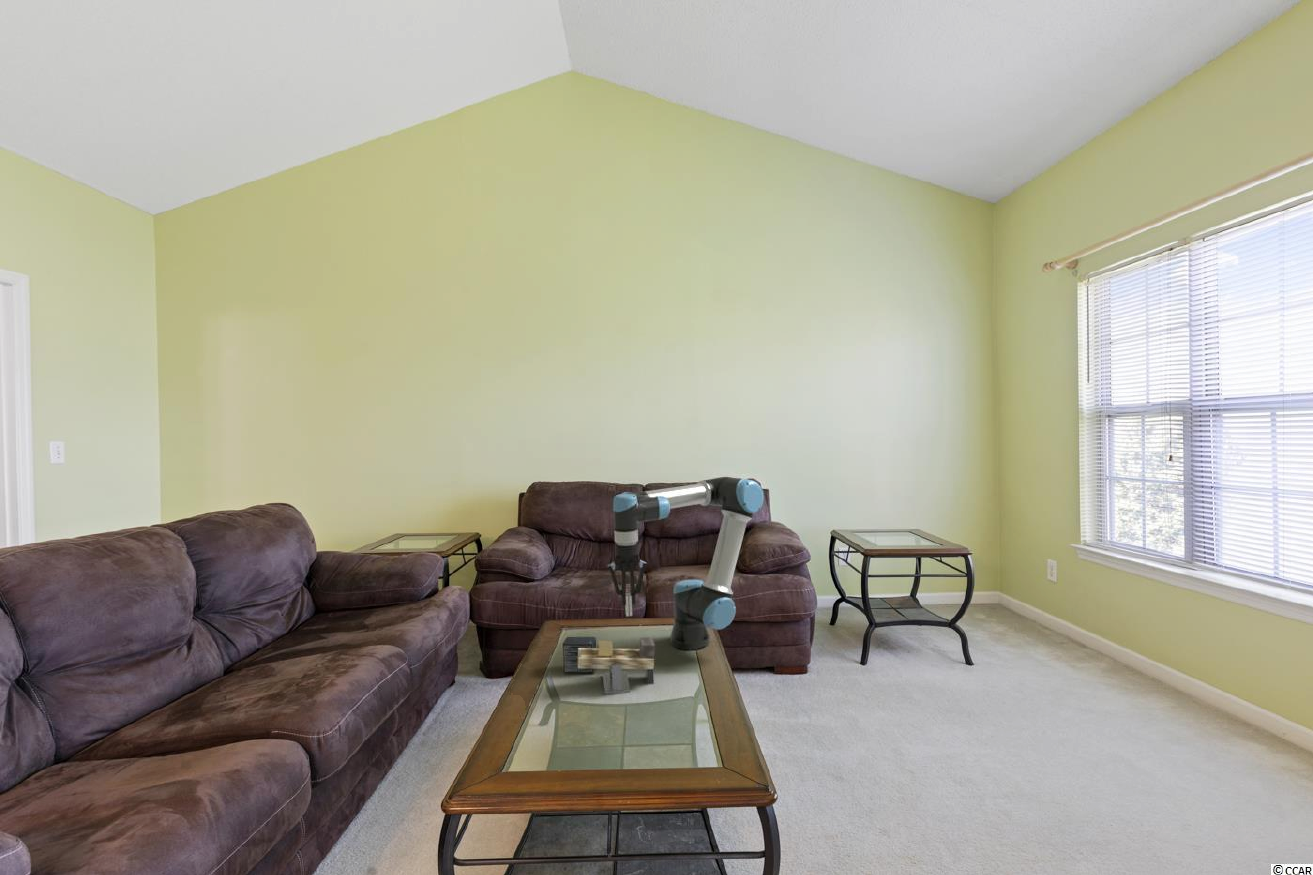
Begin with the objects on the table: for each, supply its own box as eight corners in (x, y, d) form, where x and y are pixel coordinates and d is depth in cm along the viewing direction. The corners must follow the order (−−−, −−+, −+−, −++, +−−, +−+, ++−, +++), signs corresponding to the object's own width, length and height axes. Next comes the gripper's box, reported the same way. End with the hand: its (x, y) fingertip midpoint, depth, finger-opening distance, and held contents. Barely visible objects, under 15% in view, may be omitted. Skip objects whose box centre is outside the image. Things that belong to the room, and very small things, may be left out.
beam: (649, 657, 184) (651, 636, 184) (653, 670, 175) (655, 647, 175) (577, 656, 181) (579, 634, 180) (577, 669, 171) (579, 646, 171)
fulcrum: (649, 670, 186) (648, 644, 186) (655, 689, 174) (654, 661, 174) (602, 676, 184) (601, 649, 183) (604, 694, 172) (603, 666, 171)
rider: (610, 656, 180) (611, 641, 180) (611, 662, 175) (613, 647, 175) (596, 656, 179) (598, 640, 179) (597, 662, 175) (598, 646, 175)
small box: (597, 665, 192) (596, 635, 191) (593, 674, 185) (592, 644, 185) (568, 665, 193) (567, 635, 192) (563, 673, 186) (561, 643, 186)
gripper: (645, 538, 181) (647, 608, 183) (604, 541, 179) (607, 612, 181) (648, 544, 174) (651, 617, 175) (606, 547, 172) (609, 620, 173)
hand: (628, 614), depth 178 cm, fingers closed
